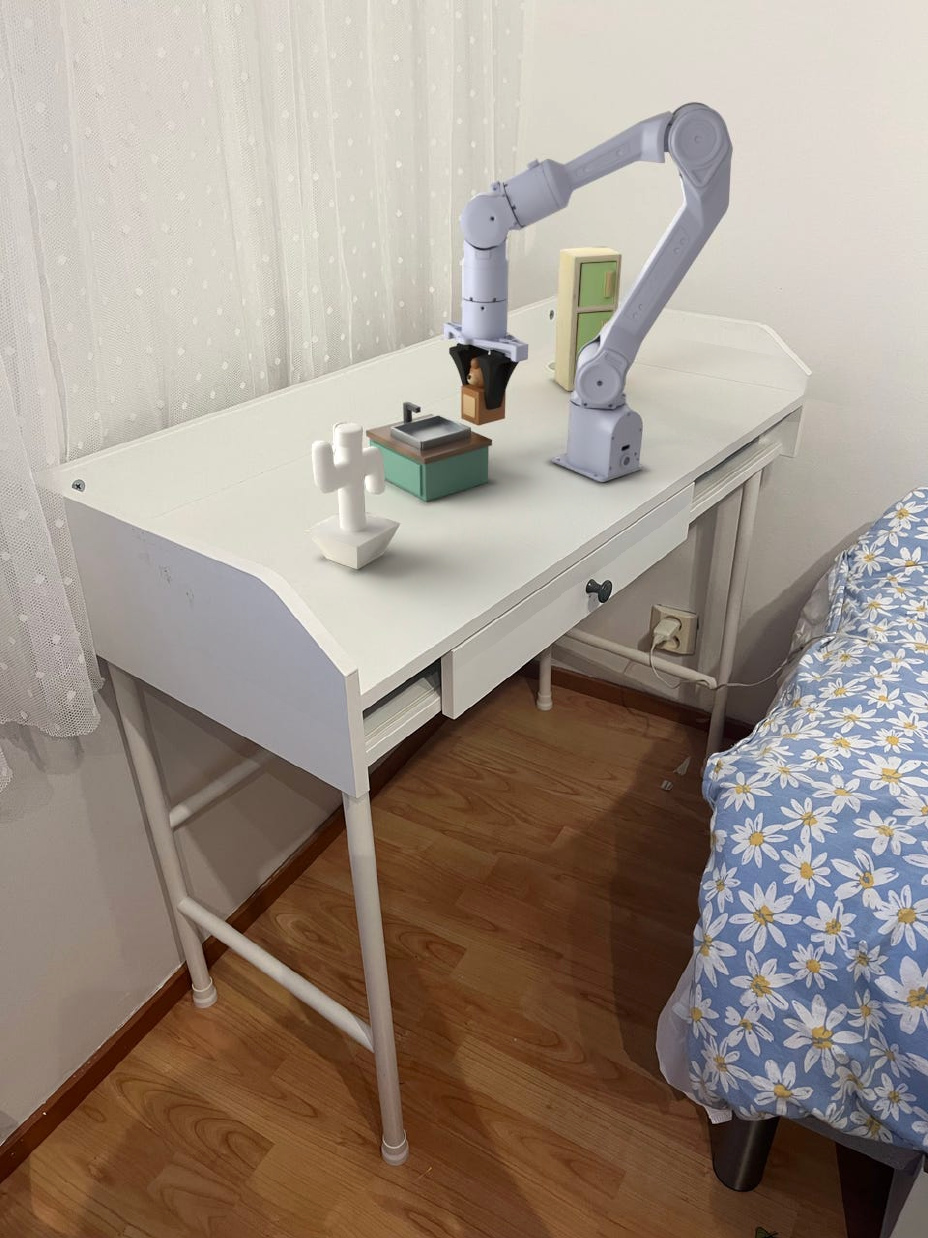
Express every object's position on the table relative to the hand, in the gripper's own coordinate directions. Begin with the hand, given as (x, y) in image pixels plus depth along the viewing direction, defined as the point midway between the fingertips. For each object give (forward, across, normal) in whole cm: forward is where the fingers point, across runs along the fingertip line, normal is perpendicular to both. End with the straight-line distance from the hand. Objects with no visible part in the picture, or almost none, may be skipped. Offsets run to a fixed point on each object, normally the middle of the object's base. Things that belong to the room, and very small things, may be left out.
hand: (483, 403), depth 128 cm
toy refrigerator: (+8, -15, +34) cm, 39 cm away
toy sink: (+8, +1, -10) cm, 12 cm away
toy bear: (+2, 0, 0) cm, 2 cm away
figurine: (+8, +14, -30) cm, 34 cm away
